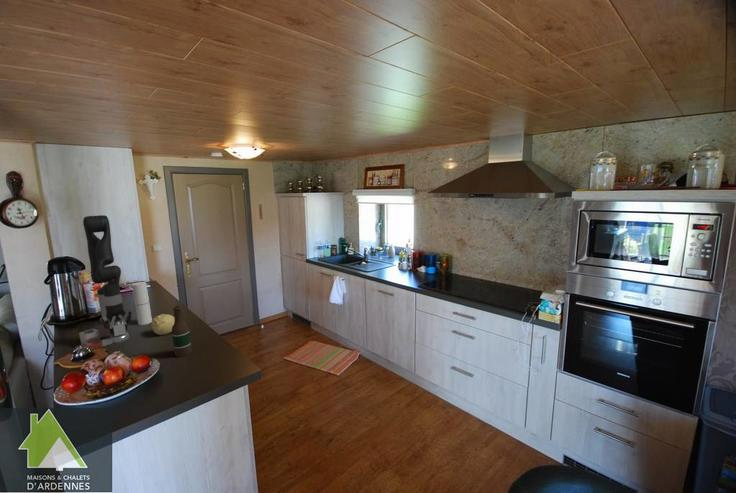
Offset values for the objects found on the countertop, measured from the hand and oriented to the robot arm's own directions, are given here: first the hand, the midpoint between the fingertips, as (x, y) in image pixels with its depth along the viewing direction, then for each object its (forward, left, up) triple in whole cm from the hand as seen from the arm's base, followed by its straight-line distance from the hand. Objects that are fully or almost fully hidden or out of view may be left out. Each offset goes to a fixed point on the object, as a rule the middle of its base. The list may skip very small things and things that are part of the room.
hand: (118, 332), depth 180 cm
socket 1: (-8, -11, -4) cm, 14 cm away
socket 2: (0, 0, -1) cm, 1 cm away
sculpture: (+10, +19, -5) cm, 22 cm away
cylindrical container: (-17, +17, -4) cm, 24 cm away
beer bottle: (+45, +15, -5) cm, 48 cm away
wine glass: (0, -7, -4) cm, 8 cm away
